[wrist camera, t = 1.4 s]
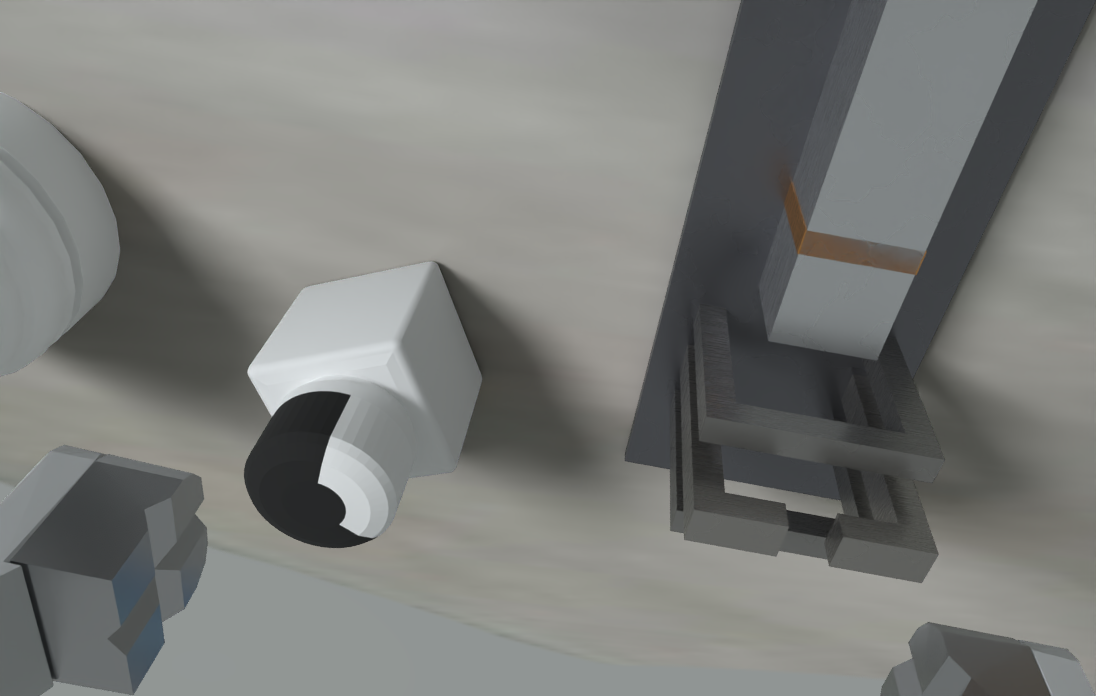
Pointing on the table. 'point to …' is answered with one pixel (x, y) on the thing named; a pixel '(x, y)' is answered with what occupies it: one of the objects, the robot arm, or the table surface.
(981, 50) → the orange-striped grey block
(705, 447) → the rail
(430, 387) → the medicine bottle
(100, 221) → the honey pot
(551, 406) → the table surface
